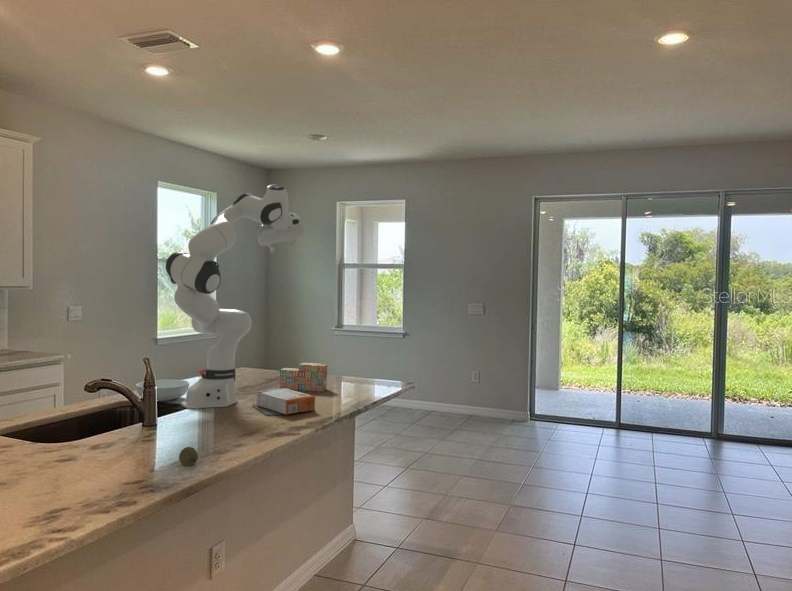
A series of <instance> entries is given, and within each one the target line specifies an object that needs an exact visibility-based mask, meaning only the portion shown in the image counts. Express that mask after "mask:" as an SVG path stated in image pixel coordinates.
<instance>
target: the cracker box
mask: <svg viewBox="0 0 792 591" xmlns="http://www.w3.org/2000/svg"><path fill="white" fill-rule="evenodd" d="M255 405H258V406H261V407H264V408H267V409H270V410H273V411H277V412H280V413H283V414H282V415H291V414H300V413H299V412H302V413H305V412H304V411H310V410H315V411H316V408H315V407H316V406H315V405H316V396H315V395H312V394H308V393H304V392H300V391H298V390H290V389H286V388H282V389H280V388H275V389H268V390H260V391H257V392H256V404H255Z"/></svg>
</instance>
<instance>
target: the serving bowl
mask: <svg viewBox="0 0 792 591" xmlns="http://www.w3.org/2000/svg"><path fill="white" fill-rule="evenodd" d="M155 380H156V385H157V400H158V402H160V403H161V402H162V403H163V402H170V401H174V400H176V399H178V398H181V397H183V396H184V395H185V394H187V392H188V389H189V388H190V382H189V381H188V380H184V379H155ZM144 382H145V381H141V382H138V383H136V384H135V389H136V393H137V394H138V395H139V397H141V398H142V393H143V383H144Z"/></svg>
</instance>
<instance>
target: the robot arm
mask: <svg viewBox="0 0 792 591" xmlns="http://www.w3.org/2000/svg"><path fill="white" fill-rule="evenodd" d="M289 203H290V202H289V196H288V191H287V189H286V187H284V186H283V185H279V184H269V185H267V187H266V192H265V194H264V196H263V197H262V198H261V197H258V196H256V195H253V194H251V193H250V192H249V193H248V192H244V193H243V194H241V195H240V196H238V197H237V199H236V200H235V201H234V202H233V203H231V204H230V205H229V206H228V207H226V208H225V209H224V210H223V211H221V212H220V213H218V214H217V215H216V216H215V217H213V219H212V220H211V222H210V224H209V225H208V226H206V227H205V228H204V229H202V230H200V231H199V232H198V233H196V234H195V235H194V236H193V237H192V238H191V239H190V240H189V241H188V246H187V247H188V248H187V249H188V250H189V253H187V252H184V251H175V252H173V253H171V254H170V255H169V256H168V258H167V259H166V263H165V271H166V273H167V275H168V276H169V279H170V282H171V284H173V285H177V289H176V291H175V292H174V296H173V297H174V298H173V299H174V303H175V304H176V305H177V307H178V308H179V309H180V310H181V312H183V313H184V314H185V315H187V316H188V317H190V318H191V319H190V320H191V326H192V329H193V330H194V331H195V332H197V333H199V334H203V335H206V336H207V335H209V336H210V335H211V336H218V340H217V343H215V344H213V345H211V346H210V347H209V348H208V349H207V352H206V368H205V369H203V368H200V369H198V373H199V375H201V378H200V379H198V380H197V381H196V382H194V384H192V385H191V386H189V387H188V390H187V392H186V397H185V398H183V399H182V400H180V406H182V407H184V408H187V409H204V408H224V407H225V408H226V407H229V406H231V405H234V404H237V403H238V402H239V401H238V398H237V393H236V391H237V390H236V385H235V382H236V375H237V374H236V367H235V361H236V360H235V359H236V350H237V347H238V344H239V342H240V341H241V339H242V338H243V337H244V336H246V335H247V334H248V333H249V332H250V330H251V329H252V323H253V322H252V318H251V316H250V314H249V312H247V311H243V310H240V309H231V308H230V309H229V308H220V305H219V302H218V300H216V299H215V298H214V297H213V296H211V295H210V294H213V293H214V292H215V291H216V290H218V288H219V286H220V284H221V282H222V281H221V280H222V279H221V271H220V269H219V268H220V265H219V263H218V262H216V261H215V259H216V257H218V256H219V255H221V254H223V253H225V252H227V251H229V249H231V248H233V246H235V244H236V241H237V231H236V229H235V227H234V225H233V223H235V222H236V221H238V220H239V219H242V218H243V219H249V220H250V221H253V222H256V223H258V224H260V225H259V227H257V228H256V234H257V242H258V244H259V245H260V247H268V248H269V250H270V253H275V247H273V246H272V245H273V244H277V243H281V242H285V241H289V240H291V241H290V242H289V246H290V248H293V247H296V245H295V243H296V241H297V239H298V238H300V237H303V236H304V235H305V230H304V229H305V228H304V225H303V223H302V219H301V217H300V216H299V215H298V214H297V213H295V212H290V211H289V205H290V204H289Z"/></svg>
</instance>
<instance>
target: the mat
mask: <svg viewBox="0 0 792 591" xmlns="http://www.w3.org/2000/svg"><path fill="white" fill-rule="evenodd" d="M254 407H255V408H254ZM252 408H254V409H256V410H257V409H258V410H257V411H258V412H260V413H262V414H263V415H264V416H266V417H270V415H272V416H281V415H280V414H282V415H284V414H283V413H280V412H277V411H273V410H270V409H267V408H264V407H261V406H258V405H256V404H252ZM310 411H312V412H316V409H315V410H310ZM303 413H309V412H308V411H304V412H303Z"/></svg>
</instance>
